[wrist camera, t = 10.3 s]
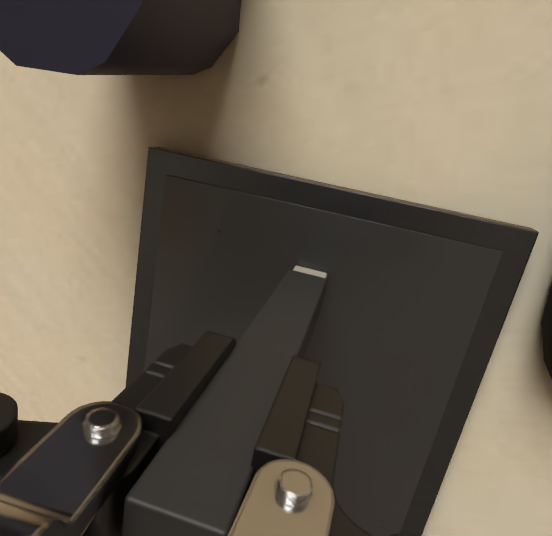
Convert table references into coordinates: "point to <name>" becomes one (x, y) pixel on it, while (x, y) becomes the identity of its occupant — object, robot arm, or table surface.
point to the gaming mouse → (547, 332)
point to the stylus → (226, 422)
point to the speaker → (117, 35)
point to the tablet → (337, 308)
